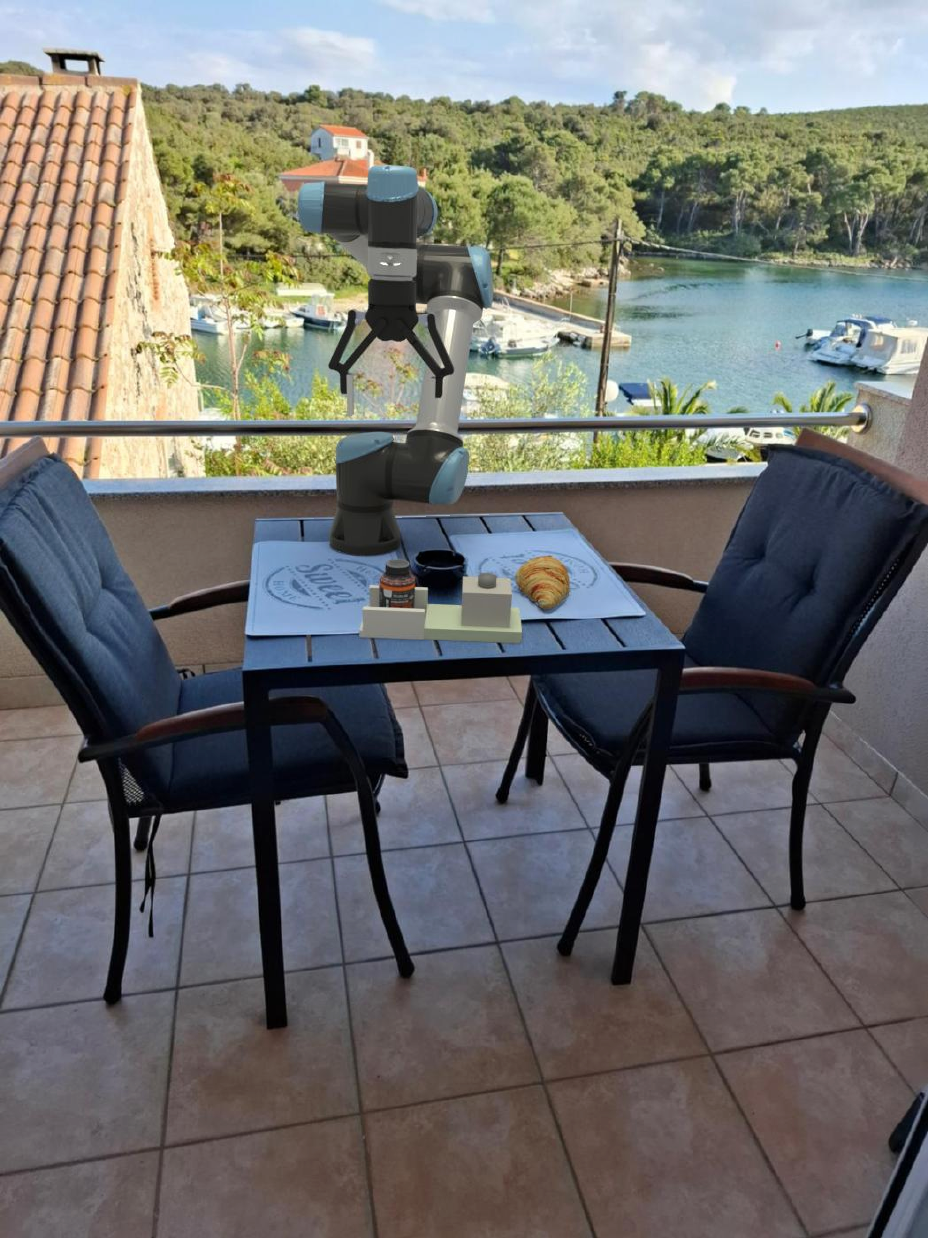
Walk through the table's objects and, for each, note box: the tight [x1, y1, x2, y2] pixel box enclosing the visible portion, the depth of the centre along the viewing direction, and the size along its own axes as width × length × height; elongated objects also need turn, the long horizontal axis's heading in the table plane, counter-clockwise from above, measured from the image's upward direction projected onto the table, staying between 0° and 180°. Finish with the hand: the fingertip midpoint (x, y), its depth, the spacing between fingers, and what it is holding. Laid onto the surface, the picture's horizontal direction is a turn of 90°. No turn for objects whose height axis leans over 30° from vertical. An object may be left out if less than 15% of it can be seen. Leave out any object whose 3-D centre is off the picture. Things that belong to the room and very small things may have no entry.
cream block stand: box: [358, 572, 523, 644], centre depth 139 cm, size 10×27×10 cm, turn 89°
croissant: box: [514, 555, 571, 610], centre depth 156 cm, size 21×10×8 cm, turn 1°
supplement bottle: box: [378, 558, 416, 609], centre depth 139 cm, size 6×6×11 cm
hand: (391, 416), depth 138 cm, fingers open, 13 cm apart
